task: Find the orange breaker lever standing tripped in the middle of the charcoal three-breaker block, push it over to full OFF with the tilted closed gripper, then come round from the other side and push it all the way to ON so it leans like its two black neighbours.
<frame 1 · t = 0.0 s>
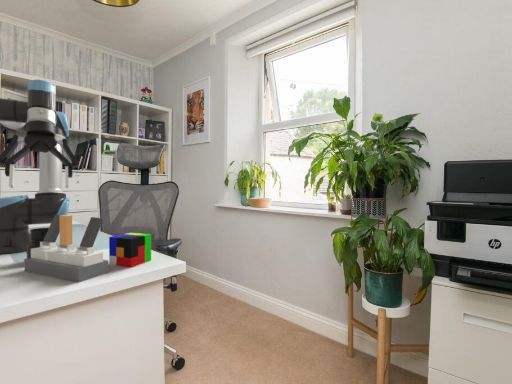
hand: (40, 186, 87), 28 cm above the table, tool tilted 20°, fingers open, 13 cm apart
breaker block: (66, 271, 92), on the table
tripped lever: (65, 231, 92), point 13 cm above the table, hinge at 0.0°
puzzle toy: (130, 263, 104), on the table
ink bottle: (42, 262, 104), on the table
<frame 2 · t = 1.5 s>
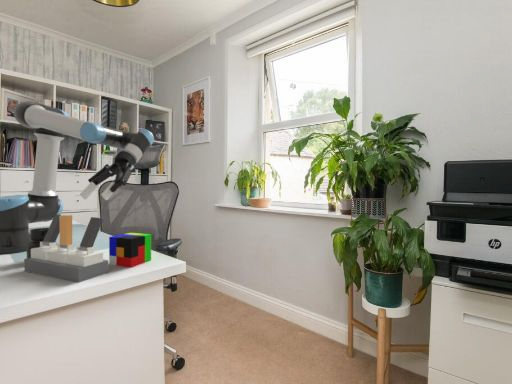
hand: (93, 197, 101), 24 cm above the table, tool tilted 45°, fingers open, 10 cm apart
nothing on the table moved.
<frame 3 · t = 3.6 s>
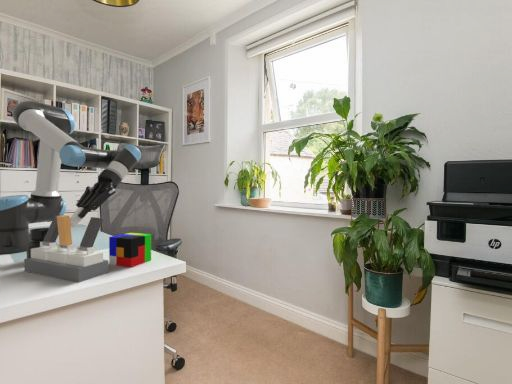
hand: (70, 224, 93), 15 cm above the table, tool tilted 45°, fingers closed
tripped lever: (64, 232, 91), point 13 cm above the table, hinge at 5.1°, touching gripper
everything else where it was.
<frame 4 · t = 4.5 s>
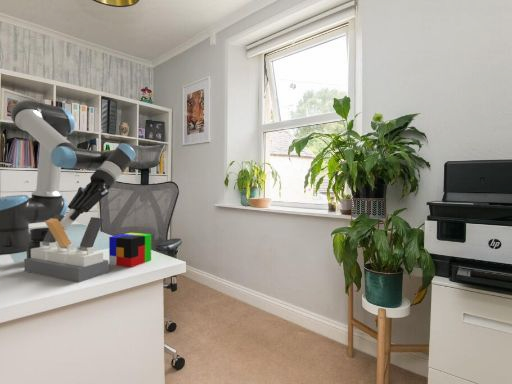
hand: (62, 227, 90), 15 cm above the table, tool tilted 45°, fingers closed
tripped lever: (59, 234, 90), point 13 cm above the table, hinge at 26.9°, touching gripper
everything else where it was.
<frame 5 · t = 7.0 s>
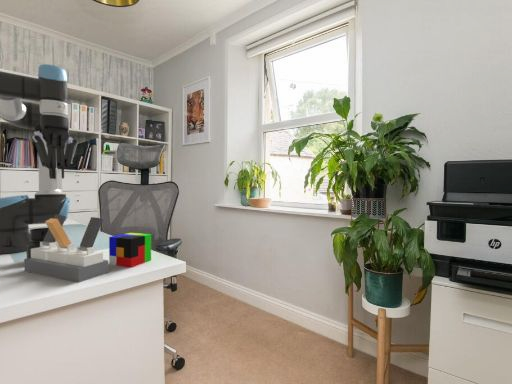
hand: (57, 188, 93), 27 cm above the table, tool pointing down, fingers closed
tripped lever: (59, 234, 90), point 13 cm above the table, hinge at 27.0°
everything else where it was.
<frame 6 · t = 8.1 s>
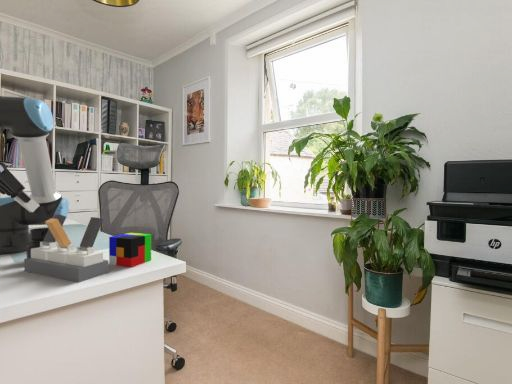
hand: (34, 208, 83), 21 cm above the table, tool tilted 45°, fingers closed
nothing on the table moved.
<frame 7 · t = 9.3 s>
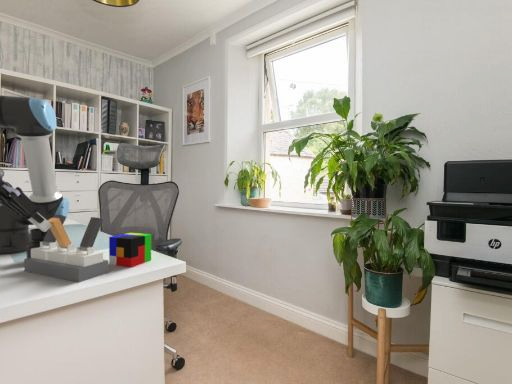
hand: (47, 228, 86), 15 cm above the table, tool tilted 45°, fingers closed
tripped lever: (60, 234, 90), point 13 cm above the table, hinge at 24.3°, touching gripper
everything else where it was.
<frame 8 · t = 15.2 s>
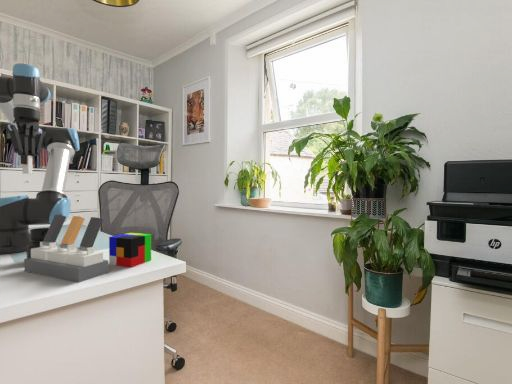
hand: (27, 173, 103), 32 cm above the table, tool pointing down, fingers closed
tripped lever: (72, 232, 94), point 13 cm above the table, hinge at -26.7°
everything else where it was.
at the end: tripped lever at -27° (first picture: +0°); the gripper is holding nothing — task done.
